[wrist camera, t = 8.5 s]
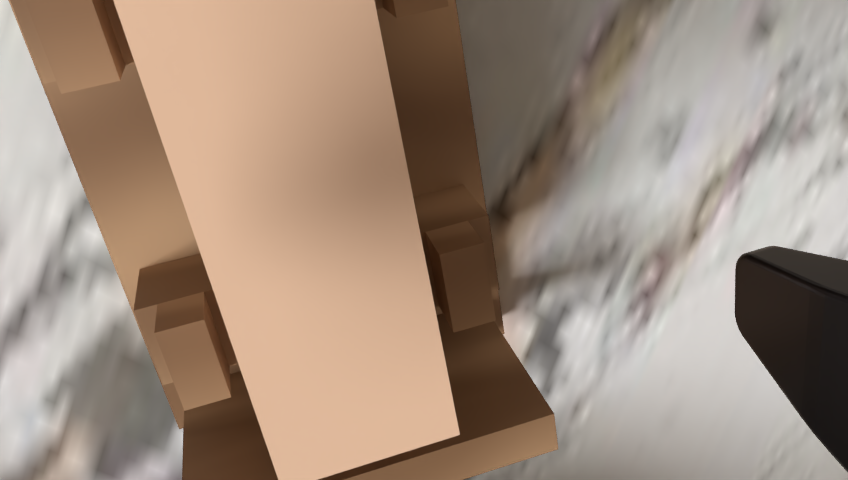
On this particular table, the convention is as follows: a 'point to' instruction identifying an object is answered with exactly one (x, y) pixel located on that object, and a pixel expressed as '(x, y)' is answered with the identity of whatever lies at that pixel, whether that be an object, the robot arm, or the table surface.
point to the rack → (187, 277)
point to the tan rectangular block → (301, 219)
